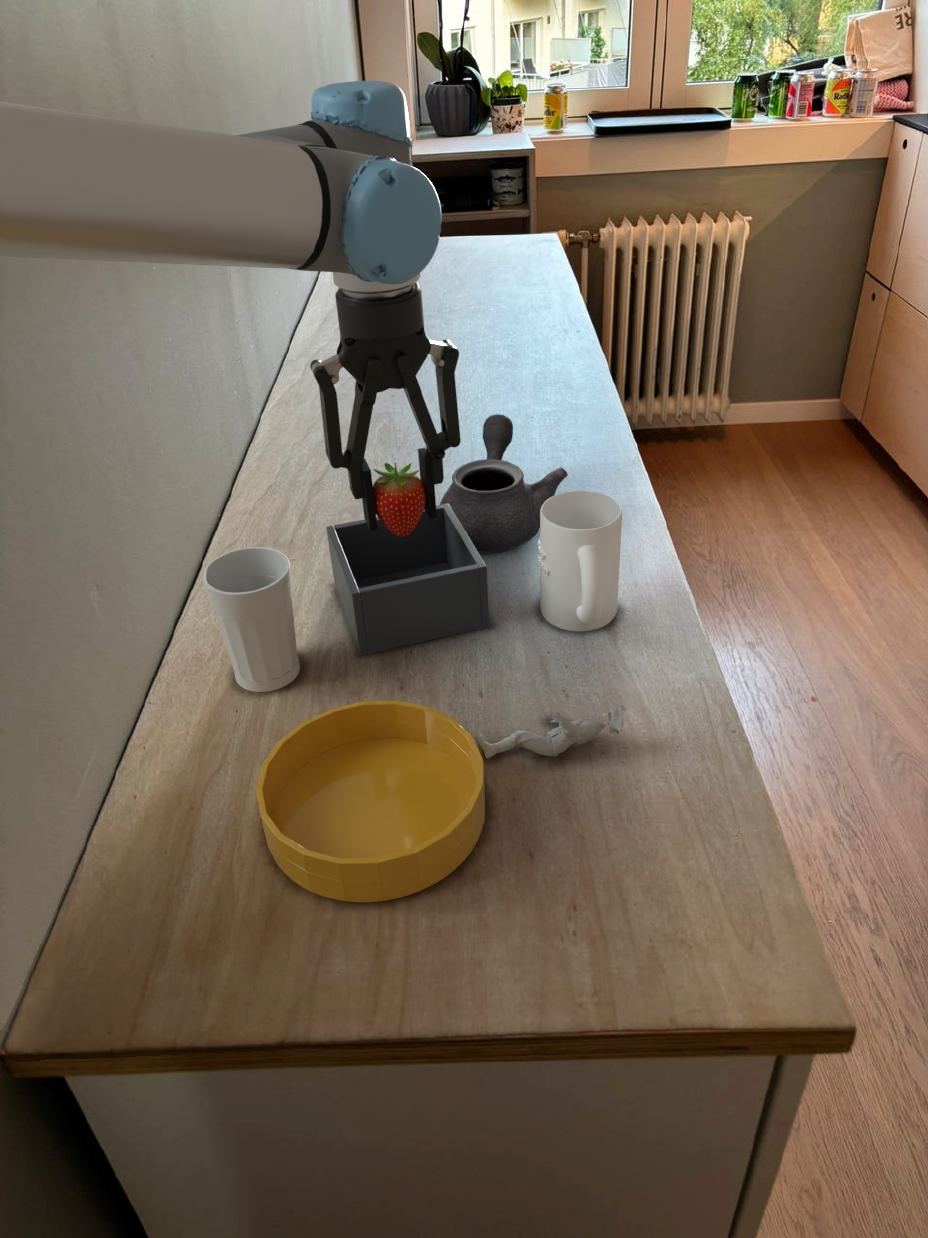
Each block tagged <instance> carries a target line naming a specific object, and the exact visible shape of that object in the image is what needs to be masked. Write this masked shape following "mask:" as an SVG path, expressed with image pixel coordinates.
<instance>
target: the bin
mask: <svg viewBox="0 0 928 1238" xmlns="http://www.w3.org/2000/svg"><path fill="white" fill-rule="evenodd" d="M436 513H437V518H433V519H429V517H428V515H427V514H426V512H425V510H423V513H422V515H421V518H420V520H419V521H418V523H417V525H416V527H415V528H414V530H413V531H412V532H411V533H410V534H409V535H407V536H404V537H401V536H397V535H395V534H394V533H392V532H391V531H390V530H389V529H388V528H387V527H386V526H385V525H384V524H383V523H382V521H381V520H380V519H379V518H378V516H376V519H377V528H378V529H377V530H372V531H370V529H369V527H368V525H367V522H366V520H365V518H363V519H359V520H353V521H349V522H344V523H338V524H334V525H328V526H326V527H325V529H326V535H327V541H328V548H329V555H330V562H331V568H332V574H333V582H334V586H335V590H336V592H337V595H338V598H339V600H340V603H341V606H342V609H343V612H344V614H345V616H346V620H347V623H348V625H349V628H350V631H351V633H352V637H353V639H354V642H355V645H356V648H357V650H358V653H359V656H366V655H370V654H375V653H380V652H384V651H388V650H392V649H396V648H401V647H407V646H410V645H415V644H419V643H423V642H424V643H425V642H428V641H429V642H430V641H433V640H437V639H442V638H446V637H451V636H456V635H461V634H466V633H469V632H473V631H479V630H483V629H488V628H490V613H489V611H490V610H489V589H488V588H489V586H488V567H487V564H486V563H485V561H484V560H483V558H482V556H481V555H480V553H479V551H477V550H476V548H475V546H474V545H473V543H472V541H471V540H470V538H469V537H468V535H467V533H466V532H465V530H464V528H463V527H462V525H461V523H460V522H459V520H458V518H457V517H456V515H455V514H454V512H453V510H452V509H451V507H450V505H449V504H442V505H440V504H438V505H437V504H436Z"/></svg>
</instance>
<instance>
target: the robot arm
mask: <svg viewBox="0 0 928 1238" xmlns="http://www.w3.org/2000/svg"><path fill="white" fill-rule="evenodd" d="M310 104H311V105H310V107H311V111H310V119H309V120H306V121H304V122H302V123H298V124H295V125H289V126H282V127H277V128H271V129H264V130H259V131H253V132H248V133H241V134H236V135H233V134H227V133H220V132H213V131H207V130H199V129H193V128H186V127H180V126H179V127H178V126H171V125H165V124H158V123H152V122H144V121H137V120H131V119H124V118H116V117H109V116H102V115H95V114H89V113H82V112H76V111H68V110H62V109H54V108H48V107H41V106H35V105H34V106H33V105H27V104H22V103H21V104H20V103H13V102H6V101H0V257H3V258H4V257H6V258H27V259H28V258H29V259H30V258H31V259H51V260H53V259H54V260H76V261H96V262H97V261H98V262H99V261H100V262H122V263H143V264H145V263H146V264H147V263H148V264H169V265H170V264H171V265H192V266H217V267H237V268H238V267H239V268H240V267H241V268H263V269H285V270H293V271H294V270H296V271H304V272H321V273H322V272H324V273H332V280H333V284H334V285H335V286H336V287H337V288H338V289H337V291H336V292H335V297H334V298H335V305H336V312H337V313H336V314H337V321H338V328H339V337H340V339H339V344H338V346H337V348H336V354H334V355H331V356H330V357H328V358H326V359H324V360H320V359H313V360H312V361H311V362H310V365H309V367H310V371H311V373H312V374H313V377H314V378H315V381H316V382H317V384H318V391H319V400H320V409H321V410H320V411H321V419H322V428H323V438H324V447H325V454H326V457H327V460H328V462H329V464H330V466H331V468H333V469H335V470H336V469H340V468H343V469H345V470H347V475H348V484H349V489H350V492H351V494H352V496H353V498H354V499H355V500H360V499H361V501H362V510H363V519H365V520H366V522H367V525H368V527H369V529H370V531H372V530H377V529H378V528H377V519H376V517H377V515H376V511H375V502H374V493H373V485H374V483H373V477H372V470H371V467H370V465H369V464H368V462H367V460H366V458H365V455H366V450H367V444H368V437H369V432H370V426H371V421H372V414H373V410H374V405H376V401H377V394H379V393H383V392H385V391H388V390H390V389H393V390H401V389H403V391H404V394H405V396H406V399H407V401H408V404H409V406H410V409H411V412H412V414H413V417H414V420H415V422H416V425H417V427H418V429H419V432H420V434H421V437H422V440H423V442H424V444H425V447H421V448H418V449H417V455H418V468H419V479H420V480H421V482H422V483H423V485H424V488H425V492H426V500H425V506H424V510H425V512H426V514H427V515H428V517H429V519H433V518H437V513H436V506H437V501H436V500H437V499H436V488H435V487H436V486H435V485H438V484H439V485H440V484H443V482H444V480H445V478H444V477H445V475H444V462H443V459H445V457H446V451H447V450H448V449H450V448H457V447H459V446H460V444H461V441H462V439H461V431H460V430H461V429H460V417H459V407H458V406H459V405H458V396H457V386H456V385H457V384H456V374H455V373H456V369H457V364H458V361H459V357H460V351H459V349H458V348H457V347H456V346H455V345H454V343H452V341H451V340H450V339H448V338H447V339H443V340H441V341H437V340H431V339H430V338H429V337H428V335H427V333H426V330H425V320H424V307H423V293H422V291H423V290H422V287H421V285H420V284H419V283H418V281H419V280H420V278H421V274H422V272H423V271H424V270H425V269H426V267H427V266H428V265H429V264H430V262H431V261H432V259H433V258H434V255H435V253H436V251H437V248H438V246H439V242H440V237H441V236H440V234H441V232H442V222H443V221H442V220H443V216H442V215H443V214H442V207H441V201H440V198H439V195H438V193H437V191H436V188H435V186H434V185H433V182H431V180H430V179H429V178H428V177H427V175H426V174H424V173H423V172H422V171H421V170H420V169H418V168H416V167H414V160H413V159H414V158H413V147H414V142H413V140H412V133H411V125H410V117H409V111H408V105H407V100H406V95H405V93H404V92H403V90H402V89H401V88H400V87H399V86H398V85H396V84H394V83H392V82H388V81H382V80H354V81H353V80H352V81H343V82H342V81H341V82H336V83H330V84H327V85H325V86H320V87H317V88H316V89H315V90H314V91H313V93H312V95H311V103H310ZM429 355H430V360H431V362H432V364H434V369H435V379H436V390H437V398H438V399H437V400H438V409H439V418H440V420H439V421H440V429H441V430H440V432H438V431H437V430H436V426H435V424H434V422H433V419H432V416H431V414H430V412H429V411H430V410H429V409H428V406H427V403H426V401H425V398H424V395H423V392H422V389H421V386H420V383H419V381H418V378H417V375H418V373H419V371H420V370H421V368H422V366H423V365H424V364H425V361H426V360H427V358H428V356H429ZM341 369H345V371H346V372H348V373H349V375H350V376H351V377H352V378H353V379H354V380H355V384H354V400H353V405H352V411H351V417H350V423H349V429H348V435H347V441H346V447H345V449H343V443H342V434H341V433H342V432H341V423H340V413H339V412H340V411H339V403H338V394H337V390H336V387H335V385H337V384H338V383H339V381H340V371H341Z"/></svg>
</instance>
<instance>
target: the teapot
mask: <svg viewBox="0 0 928 1238" xmlns="http://www.w3.org/2000/svg"><path fill="white" fill-rule="evenodd" d="M513 435H514V424H513V421H512V420H511V418H509V417H508V416H506V415H505V414H500V413H499V414H498V413H495V414H491V415H489V416H488V417H486V418H485V420H484V422H483V424H482V440H483V444H484V447H485V450H486V459H478V460H472V461H470V462H467V463H465V464H462V465H460V466H459V467H458V468H456V469H455V470H454V471H453V473H452V476H451V481H452V483H451V484H450V485H449V486H448V488H447V489H446V491H445V493H444V494H443V496H442V498H441V500H440V502H439V505H442V504H449V505H450V507H451V509H452V510H453V512H454V514H455V515H456V517H457V518H458V520H459V522H460V523H461V525H462V527H463V528H464V530H465V532H466V533H467V535H468V537H469V538H470V540H471V541H472V543H473V545H474V546H475V548H476V550H477V551H478V553H479V552H480V553H492V552H493V553H494V552H503V551H504V552H505V551H507V550H511V549H515V548H518V547H521V546H523V545H525V544H527V543H528V542H529V541H531V540H532V539H533V538H534V537H535V536H536V535H537V534H538V532H540V510H541V507H542V505H543V504H544V502H545V501H546V500H547V499H549V498H550V497H552V496H554V495H556V493H557V490H558V487H559V485H560V484H561V483H562V482H563V481H564V480H565V479H566V478H567V477H569V474H568V471H567V470H565V469H564V468H563V467H561V466H559V467H558V468H555V469H553V470H552V471H550V472H548V474H546V475H545V476H544V477H542V478H541V479H540V480H539V481H536V482H533V483H527V482H525V480H524V479H525V473H524V472H523V470H522V468H520V467H519V466H518V465H516V464H514V463H512V462H510V461H507V460H503V456H504V454H505V452H506V451H507V449H508V447H509V446H510V445H511V443H512V441H513Z"/></svg>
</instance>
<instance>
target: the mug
mask: <svg viewBox="0 0 928 1238" xmlns="http://www.w3.org/2000/svg"><path fill="white" fill-rule="evenodd" d="M622 523H623V509H622V506H621V505H620V503H619V502H618V501H617V500H616V499H615V498H613V497H612V496H611V495H607V494H605V493H602V492H598V491H595V490H585V489H584V490H583V489H581V490H580V489H579V490H577V489H575V490H567V491H563V492H559V493H557V494H555V495H554V496H552V497H550V498H549V499H547V500H546V501H545V502H544V504H543V505H542V507H541V510H540V529H539V538H538V541H537V567H538V568H539V585H540V588H539V590H540V592H539V593H540V595H539V596H540V597H539V598H540V599H539V600H540V601H539V602H540V606H539V608H540V613H541V615H542V616H543V618H544V619H545V620H546V622H548V623H549V624H550V625H552V626H554V627H556V628H558V629H561V630H564V631H569V632H588V631H589V632H590V631H591V632H592V631H595V630H598V629H601V628H603V627H605V626H607V625H608V624H610V623H611V622H612V621H613V620H614V619H615V616H616V615H617V612H618V598H619V583H620V581H619V580H620V562H621V546H622V545H621V543H622V526H623V524H622Z"/></svg>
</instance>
